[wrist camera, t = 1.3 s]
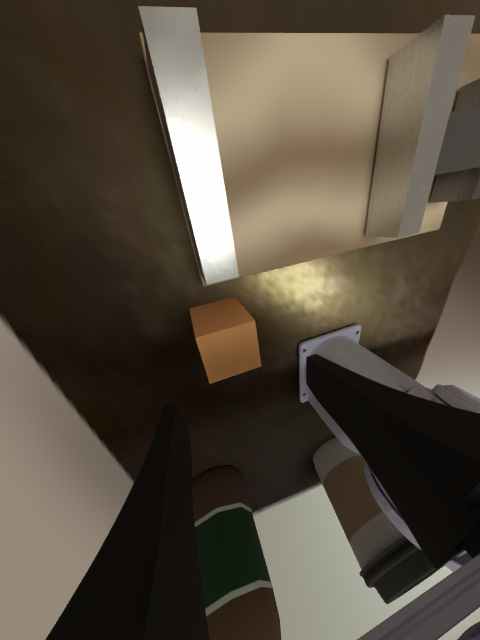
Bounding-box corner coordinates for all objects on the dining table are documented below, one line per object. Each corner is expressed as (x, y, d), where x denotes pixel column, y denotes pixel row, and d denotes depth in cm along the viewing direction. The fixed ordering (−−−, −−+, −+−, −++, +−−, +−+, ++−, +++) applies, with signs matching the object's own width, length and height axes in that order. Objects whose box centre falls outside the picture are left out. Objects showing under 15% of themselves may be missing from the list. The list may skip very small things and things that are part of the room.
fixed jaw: (227, 267, 15) (239, 276, 12) (200, 273, 14) (206, 284, 12) (189, 64, 10) (196, 7, 7) (147, 65, 9) (138, 6, 7)
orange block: (241, 334, 19) (261, 366, 15) (200, 346, 19) (209, 384, 14) (234, 296, 17) (255, 320, 13) (189, 308, 17) (195, 338, 12)
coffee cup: (359, 447, 39) (454, 559, 26) (310, 479, 38) (381, 610, 25) (352, 417, 33) (469, 544, 20) (293, 454, 32) (374, 609, 19)
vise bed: (422, 228, 20) (439, 229, 19) (201, 281, 16) (203, 286, 15) (469, 50, 15) (497, 34, 13) (143, 56, 10) (139, 32, 9)
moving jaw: (437, 219, 18) (477, 218, 16) (364, 235, 17) (397, 238, 14) (484, 54, 13) (553, 17, 11) (389, 56, 12) (445, 14, 9)
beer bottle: (237, 456, 28) (428, 1132, 7) (242, 484, 31) (378, 986, 11) (181, 478, 26) (216, 1450, 5) (193, 505, 30) (241, 1150, 9)
